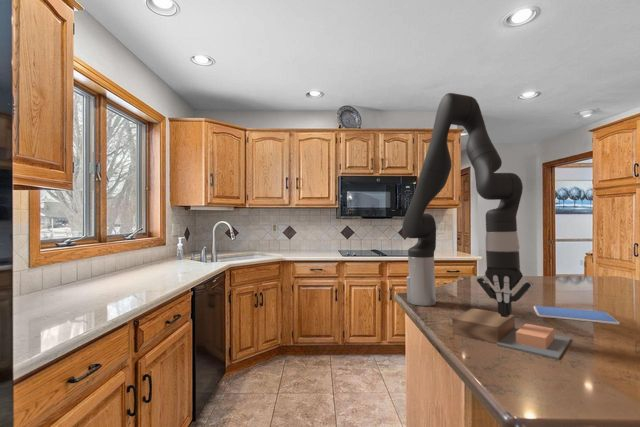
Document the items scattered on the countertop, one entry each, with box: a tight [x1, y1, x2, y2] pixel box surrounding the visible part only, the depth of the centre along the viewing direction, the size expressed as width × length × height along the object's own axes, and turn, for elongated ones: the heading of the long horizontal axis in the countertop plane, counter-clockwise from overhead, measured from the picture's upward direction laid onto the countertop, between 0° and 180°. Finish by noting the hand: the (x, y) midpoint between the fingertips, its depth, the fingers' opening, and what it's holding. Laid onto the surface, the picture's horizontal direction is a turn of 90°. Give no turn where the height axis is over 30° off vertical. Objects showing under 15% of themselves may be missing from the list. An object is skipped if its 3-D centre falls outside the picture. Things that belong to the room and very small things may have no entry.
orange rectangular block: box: [516, 323, 555, 349], centre depth 78 cm, size 6×9×2 cm, turn 134°
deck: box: [452, 307, 516, 345], centre depth 86 cm, size 11×14×4 cm
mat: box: [496, 327, 572, 360], centre depth 78 cm, size 12×16×1 cm
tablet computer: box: [533, 305, 621, 326], centre depth 99 cm, size 19×13×1 cm, turn 62°
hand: (505, 316), depth 82 cm, fingers closed
